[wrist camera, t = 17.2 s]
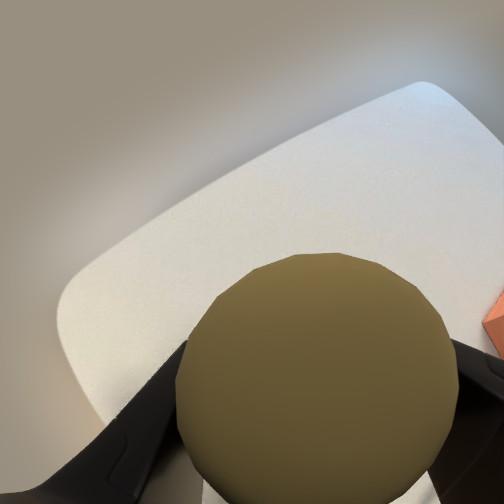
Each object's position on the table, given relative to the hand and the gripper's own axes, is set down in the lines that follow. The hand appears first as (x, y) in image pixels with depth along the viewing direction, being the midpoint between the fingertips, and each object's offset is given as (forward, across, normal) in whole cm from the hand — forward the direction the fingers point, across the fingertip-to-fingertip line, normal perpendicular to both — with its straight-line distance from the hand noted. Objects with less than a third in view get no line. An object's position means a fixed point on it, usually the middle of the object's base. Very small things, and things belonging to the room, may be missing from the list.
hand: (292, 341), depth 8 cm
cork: (+4, 0, +6) cm, 7 cm away
